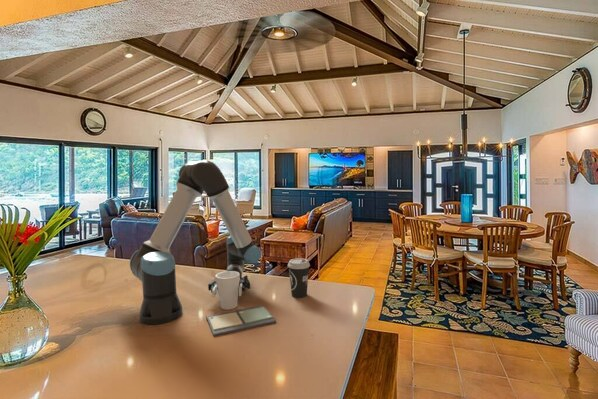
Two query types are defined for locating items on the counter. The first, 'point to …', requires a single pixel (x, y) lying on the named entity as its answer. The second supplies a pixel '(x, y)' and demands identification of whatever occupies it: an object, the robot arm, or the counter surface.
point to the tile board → (239, 320)
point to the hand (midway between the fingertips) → (226, 293)
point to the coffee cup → (298, 277)
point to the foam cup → (228, 288)
